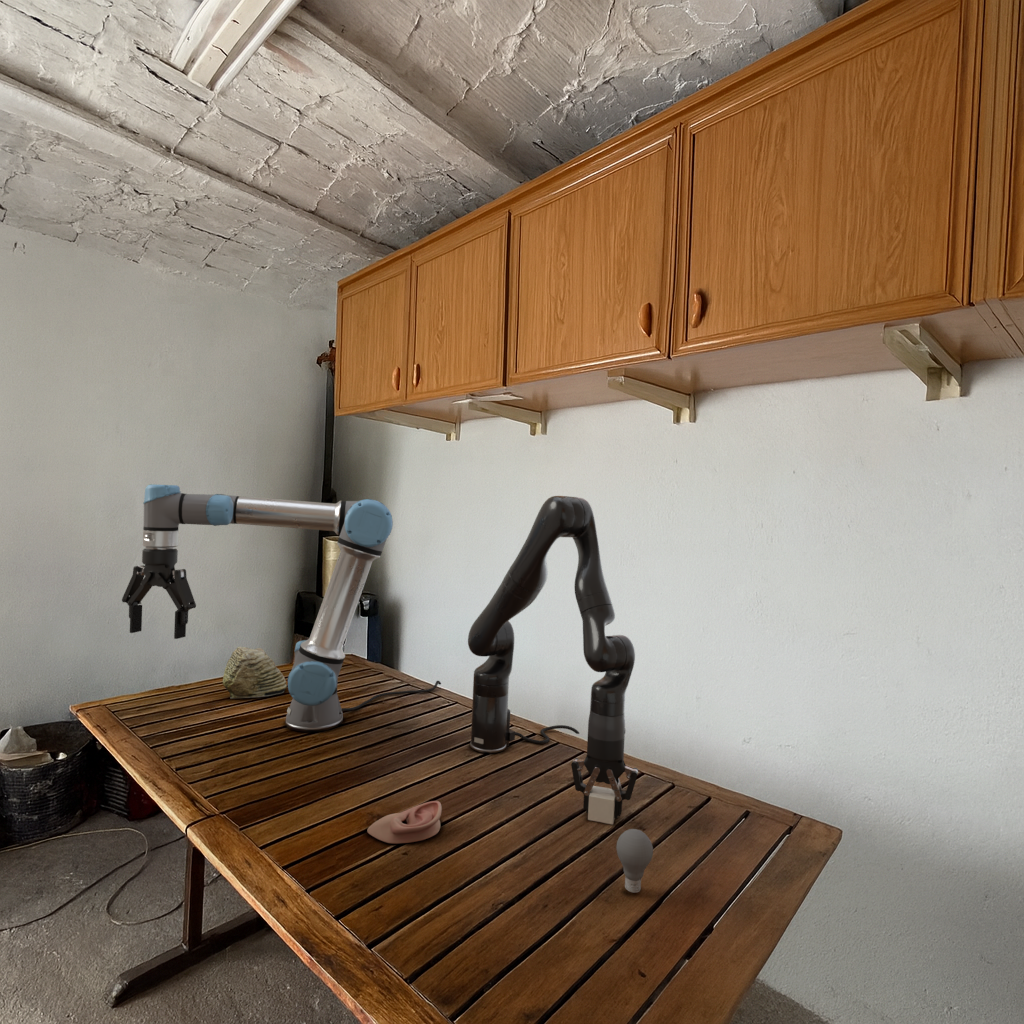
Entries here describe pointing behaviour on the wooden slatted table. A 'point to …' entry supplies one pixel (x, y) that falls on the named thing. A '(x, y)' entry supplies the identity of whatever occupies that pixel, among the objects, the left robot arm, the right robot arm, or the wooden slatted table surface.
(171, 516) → the left robot arm
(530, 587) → the right robot arm
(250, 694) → the fossil
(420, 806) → the anatomical model
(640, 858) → the light bulb
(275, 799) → the wooden slatted table surface
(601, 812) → the block
